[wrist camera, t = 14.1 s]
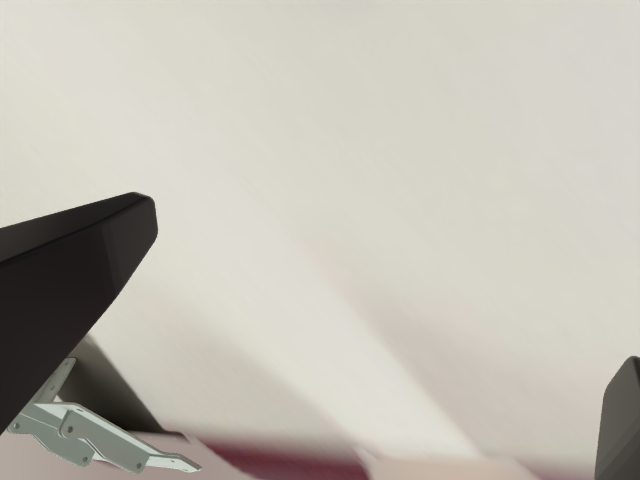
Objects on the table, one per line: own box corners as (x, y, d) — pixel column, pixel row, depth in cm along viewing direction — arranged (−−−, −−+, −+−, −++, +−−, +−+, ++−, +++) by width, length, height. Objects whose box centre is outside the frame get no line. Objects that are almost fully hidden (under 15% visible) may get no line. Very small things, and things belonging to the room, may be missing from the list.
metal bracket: (-40, 418, 43) (69, 425, 35) (3, 354, 46) (111, 348, 38) (92, 480, 51) (203, 497, 43) (119, 422, 55) (227, 428, 47)
